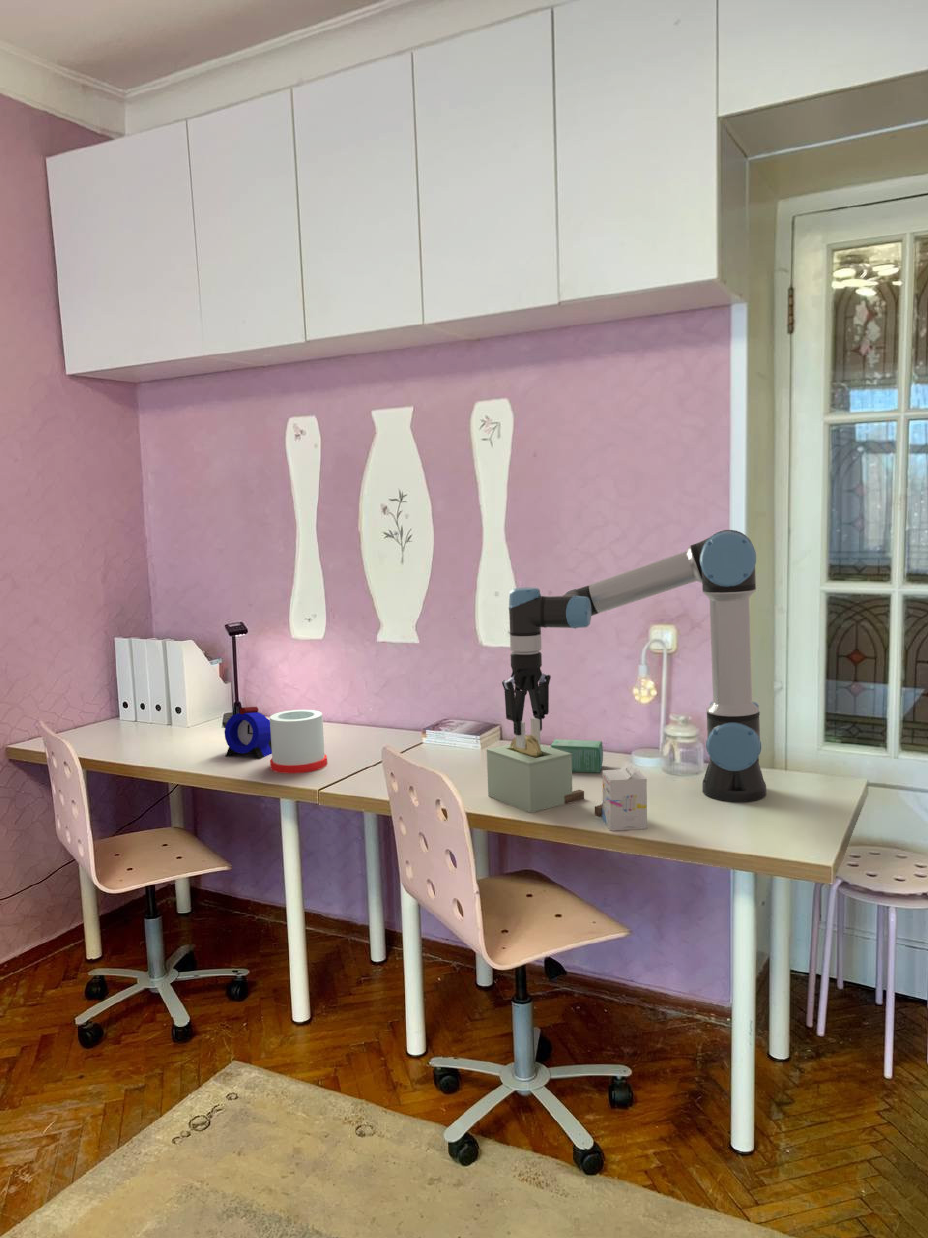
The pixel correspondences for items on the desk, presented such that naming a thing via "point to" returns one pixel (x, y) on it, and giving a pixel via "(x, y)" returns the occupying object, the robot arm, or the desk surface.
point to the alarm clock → (249, 733)
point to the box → (582, 754)
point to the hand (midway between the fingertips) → (528, 745)
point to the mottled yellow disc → (528, 747)
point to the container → (297, 741)
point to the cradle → (579, 796)
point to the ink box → (624, 799)
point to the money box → (529, 777)
